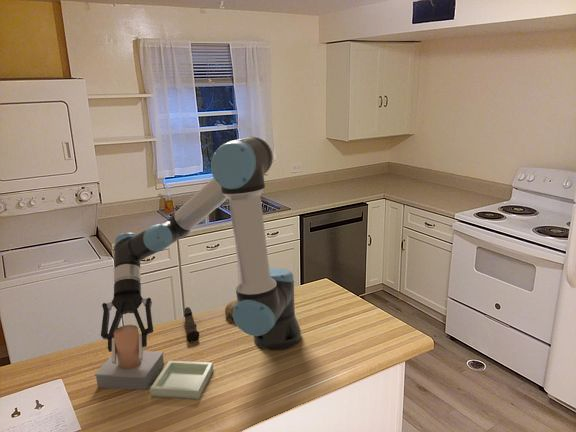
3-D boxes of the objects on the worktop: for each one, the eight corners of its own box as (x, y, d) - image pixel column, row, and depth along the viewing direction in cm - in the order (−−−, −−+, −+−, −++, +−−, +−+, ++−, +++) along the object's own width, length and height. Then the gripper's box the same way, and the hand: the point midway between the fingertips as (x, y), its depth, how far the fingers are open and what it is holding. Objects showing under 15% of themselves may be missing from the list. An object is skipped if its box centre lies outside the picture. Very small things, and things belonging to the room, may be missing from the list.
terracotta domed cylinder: (145, 356, 132) (141, 325, 129) (135, 369, 126) (131, 336, 123) (125, 355, 133) (120, 324, 130) (114, 368, 127) (109, 335, 124)
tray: (213, 370, 131) (212, 362, 131) (198, 399, 119) (198, 390, 118) (170, 368, 133) (169, 360, 133) (151, 396, 121) (150, 388, 120)
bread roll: (223, 327, 164) (217, 312, 159) (235, 304, 171) (229, 290, 166) (248, 331, 160) (242, 316, 155) (259, 308, 167) (254, 293, 162)
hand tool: (200, 341, 148) (198, 328, 146) (187, 343, 147) (186, 330, 146) (195, 316, 165) (194, 304, 164) (184, 317, 164) (183, 305, 163)
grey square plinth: (164, 364, 135) (163, 351, 134) (146, 390, 123) (144, 376, 122) (118, 362, 137) (117, 349, 136) (96, 387, 125) (94, 374, 124)
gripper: (162, 283, 142) (165, 359, 130) (95, 291, 138) (93, 369, 126) (159, 273, 135) (162, 352, 124) (89, 281, 131) (86, 362, 120)
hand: (127, 360), depth 125 cm, fingers closed on terracotta domed cylinder, 6 cm apart
